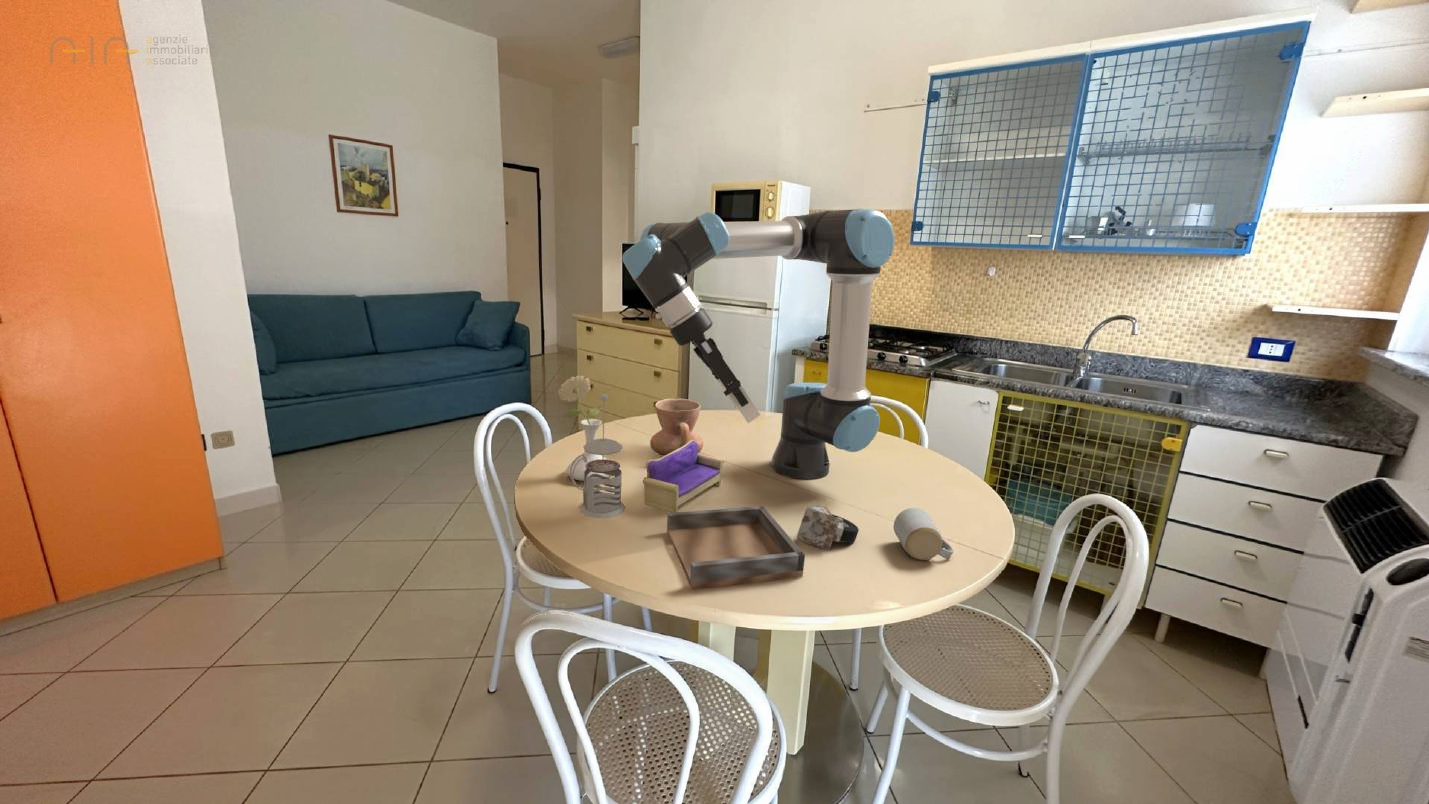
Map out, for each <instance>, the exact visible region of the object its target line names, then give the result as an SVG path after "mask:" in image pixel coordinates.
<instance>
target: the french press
mask: <svg viewBox="0 0 1429 804" xmlns="http://www.w3.org/2000/svg"><path fill="white" fill-rule="evenodd" d="M598 398H599V399H598V400H599V401H602V438H596V440H593V441H590V442H588V443H587V444H586V443H585V444H584V445H583V450H584V452H585V451H586V452H587V453H590V454H595V455H601V456H603V459H602V460H600V459H599V460H598V459H597V460H595V461H594V460H592V461H591V462H588V463H587V458H586V457H585V456H584V455H582V454H580V455H578V456H577V457H576V458H575V459H574V460H573V461H572V462H573V463H572V462H571V463H572V465H571V468H570V476H569V477H570V480H571V482H572V484H573V485H574V486H575V487H576V488H577V489H578V490H581V491H582V503H581V505H580V506H579V508H578V509H579V512H580V514H582V515H583V516H585V517H589V518H592V519H609V518H615V517H619V516H620V515H622V514H623V513H625V511H626V509H627V507H626V505H624V504H625V503H624V502H623V501H622V470H621V464H620V463H619V462H618V461H616V460H612V459H607V458H605V457H604V456H608V455H609V456H610V455H614V454H618V453H621V451H622V450H623V449H624V446H623V444H622V443H620V442H619V441H617V440H614V439H610V438H606V437H604V434H605V401H608V400H610V399H609V395H608V394H605V393H602V394H600V395H599V397H598ZM580 456H583V458H581V459H580V460H582V459H583V460H584V462H585V463H587V464H586V465H585V466H586V468H587V469H586V470H585V471H584V481H583V486H581V485H579V484H577V483H576V481H575V479H574V470H575V467H576V465H577V464H578V463H579V462H580V460H579V461H578V462H577V463H576V465H575V466H574V470H573V473H572V471H571V470H572V466H573V464H574V462H575V461H576V460H577V458H579V457H580ZM585 458H586V461H585ZM604 458H605V459H604ZM606 459H607V460H606ZM590 472H595V473H603V474H606V475H610V477H609V478H607V477H604V476H601V475H599V474H592V475H590V476H587V475H588V474H589V473H590ZM572 474H573V478H572ZM592 477H599V478H602V479H594V478H592ZM611 477H612V478H611ZM601 485H603V486H601ZM602 491H604V492H602Z"/></svg>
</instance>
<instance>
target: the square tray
mask: <svg viewBox="0 0 1429 804" xmlns="http://www.w3.org/2000/svg"><path fill="white" fill-rule="evenodd" d="M666 534H667V536H668V539H669V541H670V543H671V546H672V548H673V549H674V553H675V555H676V557H677V559H678V562H679V564H680V566H681V569H682V570H683V573H684V574H685V575H684V576H685V577H686V580H687V582H688V584H689V586H690V589H691V590H696V589H706V588H716V587H723V586H734V585H742V584H749V583H750V584H751V583H759V582H760V583H761V582H766V581H777V580H785V579H794V578H803V576H804V570H805V569H804V568H805V566H804V565H805V557H806V554H805V553H804V552H803V551H802V550H801V548H800V547H799V546H798V545H797V544H796V543H795V541H794V540H793V539H792V538H791V537H790V536H789V534H788V533H787V532H786V531H785V530H784V528H783V527H782V526H781V525H780V524H779V523H778V522H777V520H776V519H775V518H774V517H773V516H772V514H771V513H770V512H769V511H768V509H766V507H764V506H763V505H760V506H759V505H758V506H746V507H745V506H744V507H733V508H732V507H731V508H717V509H705V510H702V509H701V510H691V511H690V510H688V511H678V512H675V513H668V512H667V521H666Z"/></svg>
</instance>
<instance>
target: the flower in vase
mask: <svg viewBox="0 0 1429 804" xmlns="http://www.w3.org/2000/svg"><path fill="white" fill-rule="evenodd" d="M560 387H561V388H559V389H558V390H557V391H558V392H557V393H558V395H559V398H560V400H563V402H564V401H567V402H568V403H569V402H571V403H572V402H576V401H578V405H579V410H578V409H570V410H569V411H567V412H566V413H565V414H564V415H563V417H562V418H570V419H571V418H572V419H575V418H577V417H578V416H579V415H581V414H582V415H583V416H584V419H583V420H580V421H579V424H580V425H581V426H582V428H583V430H584V434H585V435H584V436H585V444H587V443H588V442H590V441H593V440H596V439H597V433H598V430H599V427H600V426H601V425H602V424H603V420H601V419H596V418H592V417H596V416H597V415H598V414H599V412H600V411H601V405H598V406H597V407H594V408H592V409H589V410H588V411H587V413H586V414H585V412H584V410H583V409H582V406H581V405H582V404H581V400H580V399H582V398H585V397H586V395H587V394H588V393H589V391H591V390H592V389H591V381H590V378H589V377H588V378H585V377H584V375H581V376H580V375H576V376H575V377H574V376H571V377H570V378H569V379H566V380H565V381H564V383H561V385H560ZM581 455H584V456H585V457H586V458H587V463H588V462H591V461H592V460H594V461H595V460H597V459H598V460H599V459H600V460H602V459H603V455H595V454H590V453H587V452H586V451H585V450H584V452H583V453H581ZM579 456H580V455H579ZM576 458H577V457H576ZM581 458H583V456H580V457H579V458H577V460H576V461H575V462H574V464H573V466H572V470H571V471H572V473H573V470H574V466H575V465H576V463H577V462H578V461H579V460H580V459H581ZM586 458H585V461H586ZM604 459H606V460H608V459H607V458H606V457H604ZM572 463H573V461H571V462H570V464H569V465H568V466H566V474H567V475H568V477H570V468H571V465H572ZM587 463H585V462H584V460H583V459H582V460H580V462H579V463H578V464H577V465H576V467H575V470H574V480H577V481H579V482H580V481H581V482H584V471H585V470H586V469H587V468H586V466H585V465H586V464H587ZM592 474H599V475H601V476H604V477H607V478H611V476H610V475H606V474H603V473H595V472H590V473H589V474H588V475H587V476H590V475H592ZM592 478H594V479H602V478H599V477H592ZM572 479H573V474H572Z"/></svg>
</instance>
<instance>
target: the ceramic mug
mask: <svg viewBox="0 0 1429 804" xmlns="http://www.w3.org/2000/svg"><path fill="white" fill-rule="evenodd" d="M893 531H894V534H895V536H896V538H897V539H898V541H899V542H900V544H901V545H902V548H903V549H904V551H905V552H906V553H907V554H908V555H909V556H910V557H911V558H912V559H915V560H918V559H919V561H927V559H928V560H931V559H932V558H935V557H936V556H940V557H942V558H946V559H949V558H950V557H952V555H953V553H954V549H953V547H952V546H951V545H950V544H949V543H948V542H947V541H946V540H945V539H943V537H942V534H941V533H940V530H939V529H938V527H937V525H936V524H935V522H934V520H933V518H932V517H931V515H930V514H929V513H928V512H927V511H925V510H923V509H921V508H920V507H910V508H906V509H903V510H902V511H901V512H900V513H898V514H897V516H896V517H895V519H894V522H893ZM943 548H945V549H943ZM948 557H949V558H948Z"/></svg>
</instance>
